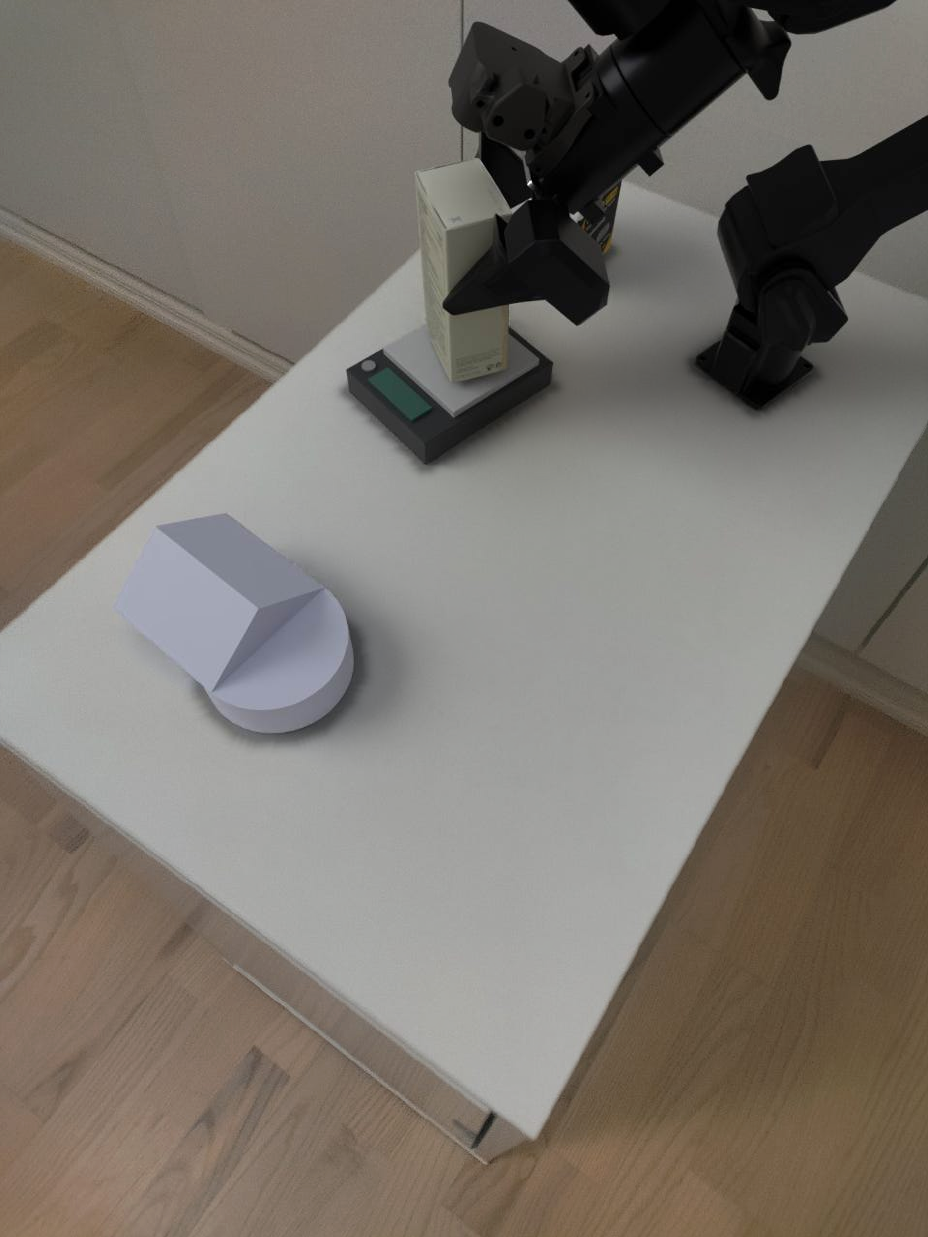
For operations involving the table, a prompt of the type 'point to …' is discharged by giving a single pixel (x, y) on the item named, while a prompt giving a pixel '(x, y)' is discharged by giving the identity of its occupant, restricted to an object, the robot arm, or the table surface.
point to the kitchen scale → (442, 391)
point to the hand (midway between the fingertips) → (443, 272)
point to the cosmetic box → (460, 264)
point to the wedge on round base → (241, 623)
